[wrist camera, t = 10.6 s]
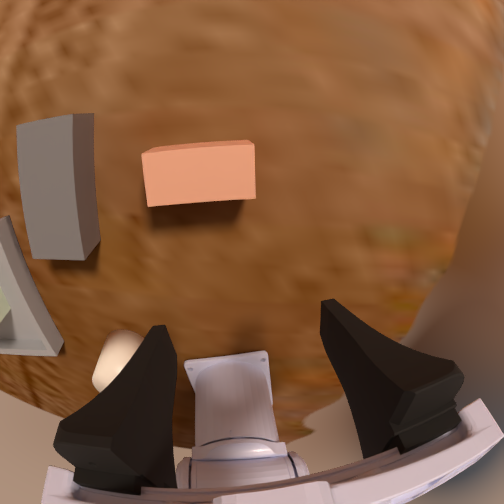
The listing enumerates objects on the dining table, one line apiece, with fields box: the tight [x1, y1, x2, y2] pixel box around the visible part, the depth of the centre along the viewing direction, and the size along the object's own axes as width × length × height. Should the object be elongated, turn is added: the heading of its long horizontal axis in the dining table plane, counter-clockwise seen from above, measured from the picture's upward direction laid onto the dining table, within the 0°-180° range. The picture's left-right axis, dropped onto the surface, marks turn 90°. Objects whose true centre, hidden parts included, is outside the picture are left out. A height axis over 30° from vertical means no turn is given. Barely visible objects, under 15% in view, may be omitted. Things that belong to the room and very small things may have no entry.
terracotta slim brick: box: [142, 140, 255, 207], centre depth 17 cm, size 3×6×4 cm, turn 91°
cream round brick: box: [92, 329, 144, 392], centre depth 23 cm, size 5×5×5 cm
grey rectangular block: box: [17, 113, 101, 260], centre depth 16 cm, size 5×9×4 cm, turn 176°
